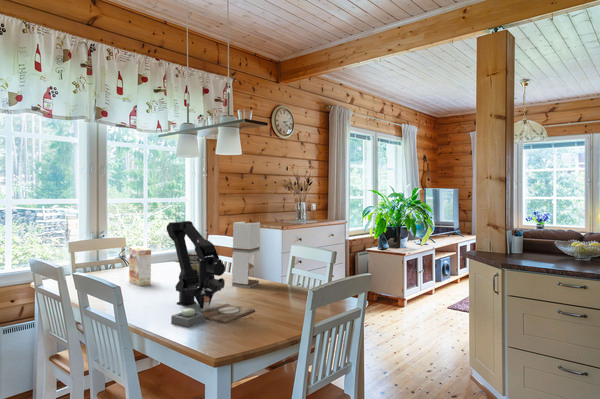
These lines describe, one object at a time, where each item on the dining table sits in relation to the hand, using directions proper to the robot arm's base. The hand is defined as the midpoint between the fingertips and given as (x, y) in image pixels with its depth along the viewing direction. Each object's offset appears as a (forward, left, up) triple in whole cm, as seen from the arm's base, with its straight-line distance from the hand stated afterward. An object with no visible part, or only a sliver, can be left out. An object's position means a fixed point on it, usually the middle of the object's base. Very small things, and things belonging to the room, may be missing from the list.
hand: (204, 307), depth 178 cm
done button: (+6, -16, +2) cm, 17 cm away
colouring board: (+11, +1, -1) cm, 11 cm away
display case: (-14, +48, -1) cm, 50 cm away
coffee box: (-44, +38, -1) cm, 58 cm away
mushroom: (0, 0, -1) cm, 1 cm away
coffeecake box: (-66, +19, -1) cm, 69 cm away
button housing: (+6, -16, -1) cm, 17 cm away
